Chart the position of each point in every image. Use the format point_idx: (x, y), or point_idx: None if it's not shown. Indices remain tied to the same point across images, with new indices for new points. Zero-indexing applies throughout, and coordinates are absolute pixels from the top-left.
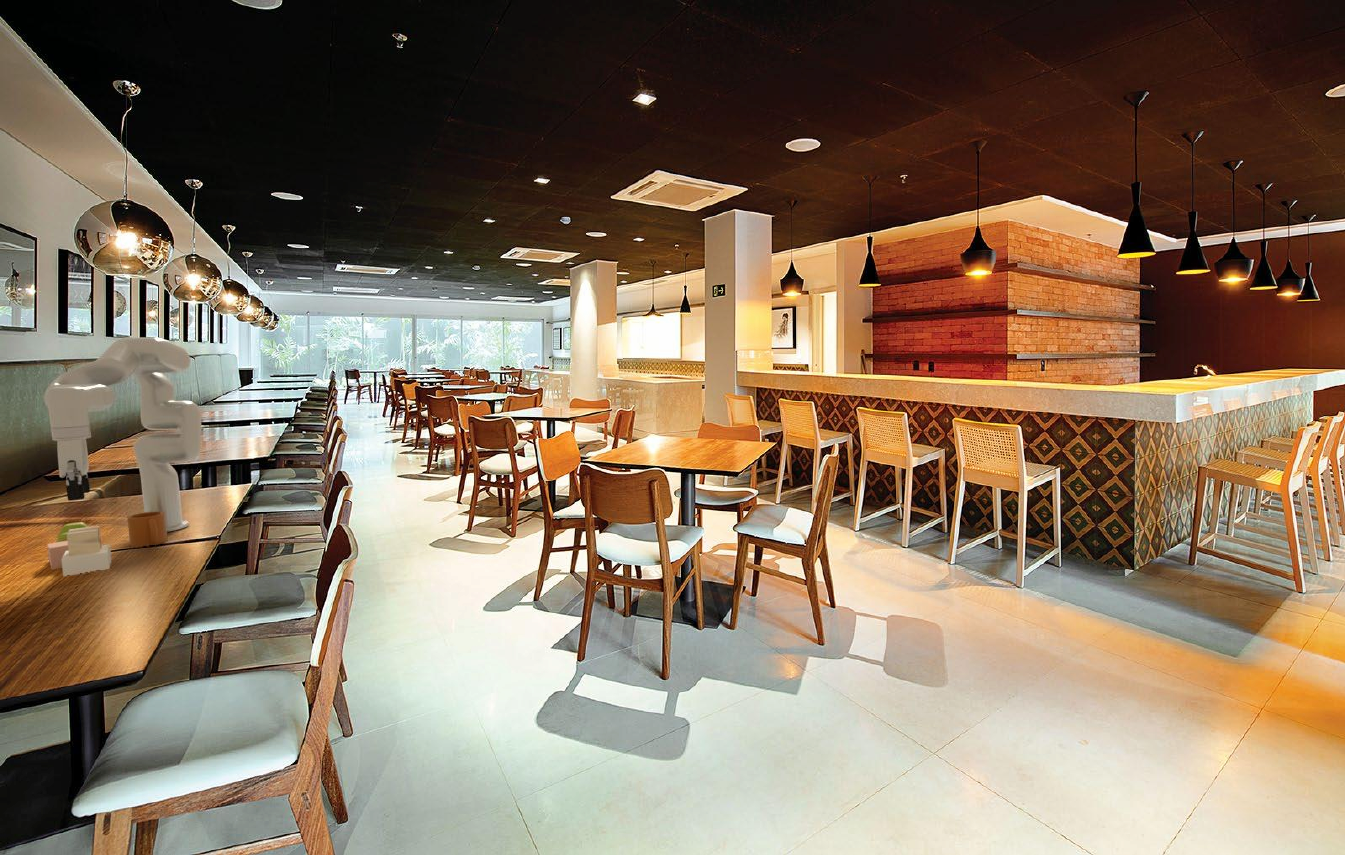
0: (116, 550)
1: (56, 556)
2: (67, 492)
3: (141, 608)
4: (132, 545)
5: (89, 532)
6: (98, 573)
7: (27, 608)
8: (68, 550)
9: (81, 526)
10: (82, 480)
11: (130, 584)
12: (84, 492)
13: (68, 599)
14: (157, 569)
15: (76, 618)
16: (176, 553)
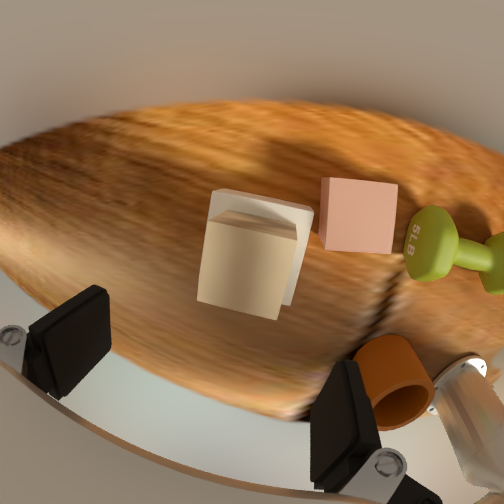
0: (382, 309)
1: (325, 190)
2: (64, 306)
3: (12, 253)
4: (381, 338)
5: (200, 280)
6: (190, 246)
7: (68, 140)
8: (311, 218)
9: (502, 283)
10: (322, 463)
11: (84, 269)
12: (318, 395)
13: (68, 188)
14: (141, 322)
15: (14, 196)
16: (237, 374)
